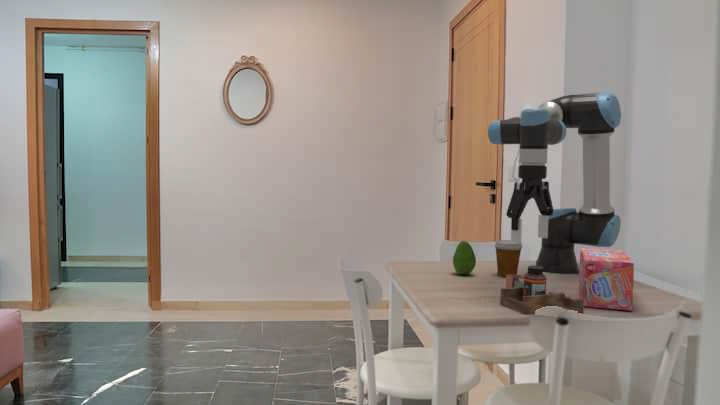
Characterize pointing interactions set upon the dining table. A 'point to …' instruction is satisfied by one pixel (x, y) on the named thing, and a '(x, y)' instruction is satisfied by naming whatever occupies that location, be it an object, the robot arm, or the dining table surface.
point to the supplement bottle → (534, 281)
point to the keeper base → (537, 301)
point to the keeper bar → (513, 281)
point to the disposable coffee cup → (507, 257)
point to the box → (606, 279)
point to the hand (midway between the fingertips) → (529, 239)
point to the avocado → (464, 258)
